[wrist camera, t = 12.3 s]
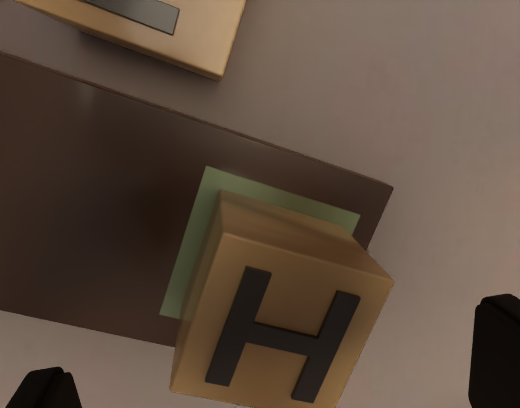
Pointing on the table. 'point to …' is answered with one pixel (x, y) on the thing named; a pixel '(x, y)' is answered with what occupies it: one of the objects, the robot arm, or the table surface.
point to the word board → (133, 200)
